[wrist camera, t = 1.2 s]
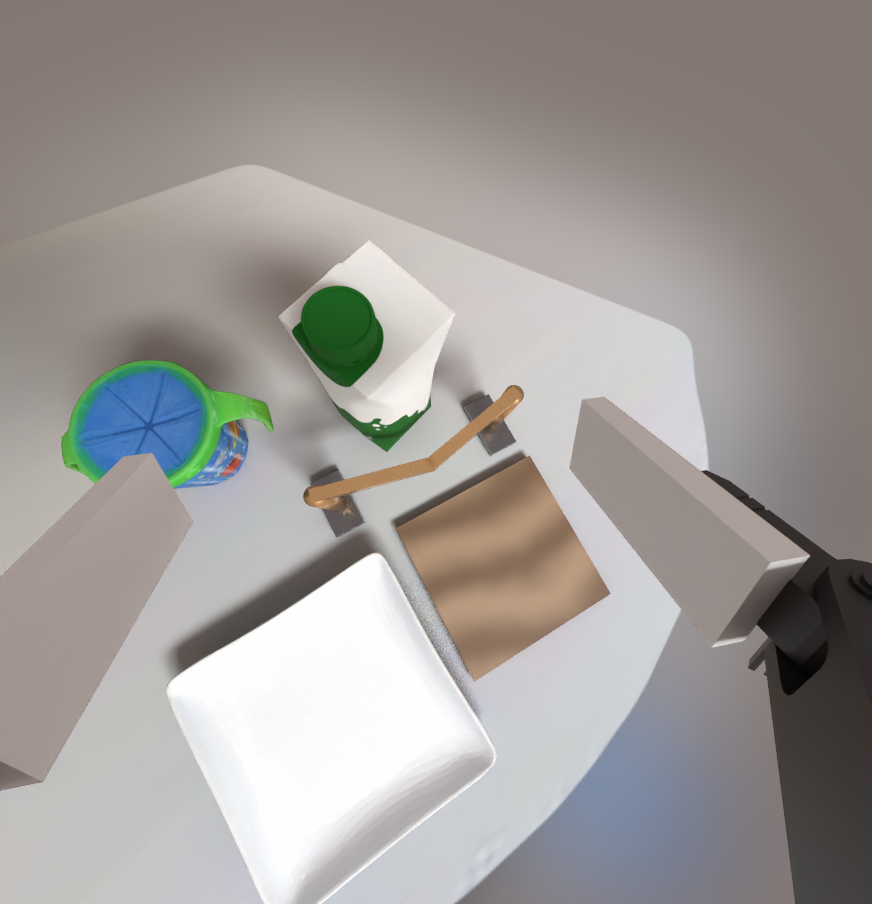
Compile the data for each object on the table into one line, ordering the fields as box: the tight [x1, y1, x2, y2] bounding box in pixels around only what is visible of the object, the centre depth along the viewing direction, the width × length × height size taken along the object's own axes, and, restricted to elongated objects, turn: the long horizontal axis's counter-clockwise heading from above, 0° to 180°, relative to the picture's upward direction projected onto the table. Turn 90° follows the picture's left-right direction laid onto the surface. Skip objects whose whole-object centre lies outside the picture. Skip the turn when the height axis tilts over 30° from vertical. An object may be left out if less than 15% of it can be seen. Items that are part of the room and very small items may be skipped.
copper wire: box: [303, 385, 524, 537], centre depth 33 cm, size 6×21×10 cm, turn 118°
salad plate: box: [166, 552, 496, 904], centre depth 32 cm, size 21×21×3 cm
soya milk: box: [279, 240, 455, 452], centre depth 30 cm, size 9×9×20 cm
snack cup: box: [61, 360, 273, 489], centre depth 32 cm, size 16×10×10 cm
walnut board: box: [396, 456, 610, 681], centre depth 37 cm, size 16×16×1 cm
